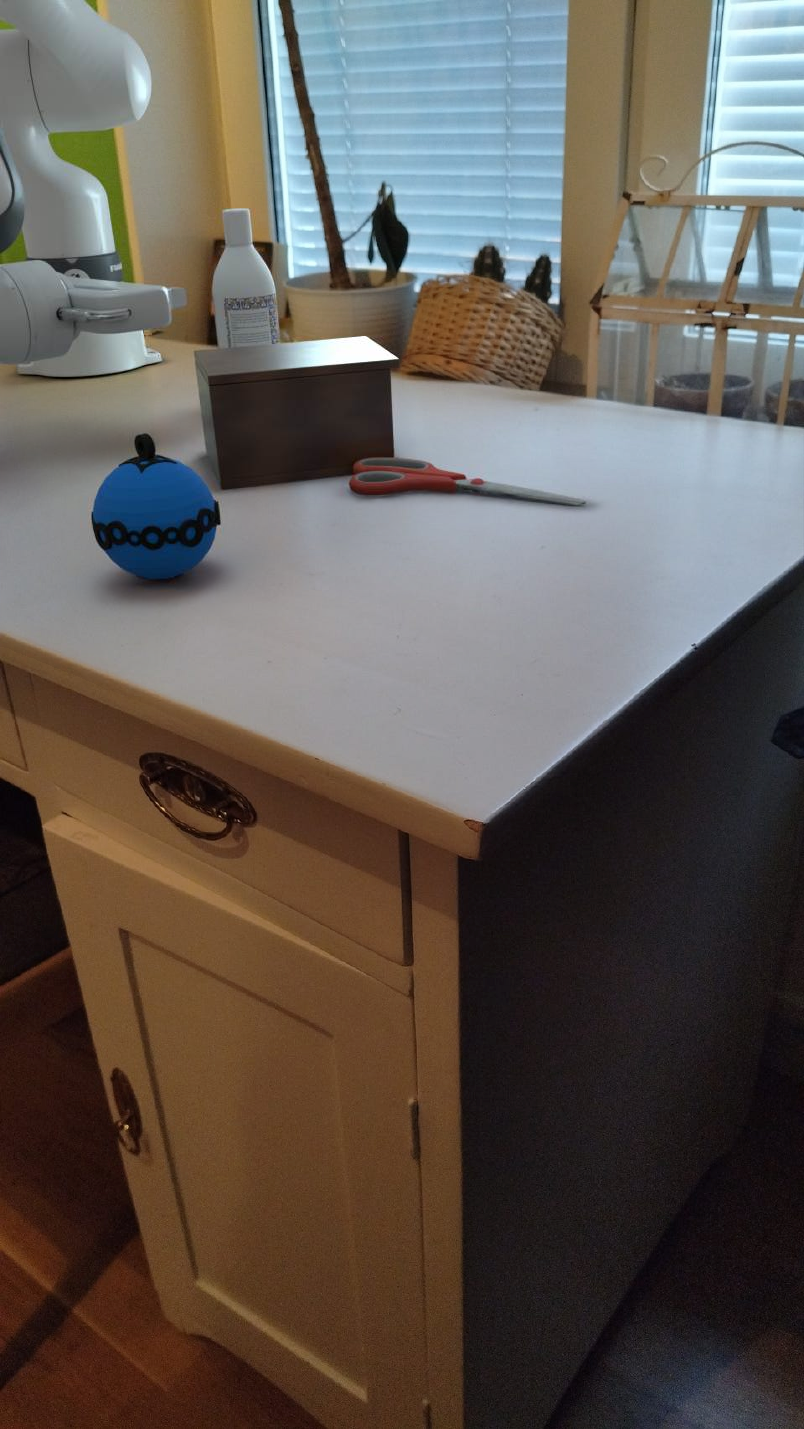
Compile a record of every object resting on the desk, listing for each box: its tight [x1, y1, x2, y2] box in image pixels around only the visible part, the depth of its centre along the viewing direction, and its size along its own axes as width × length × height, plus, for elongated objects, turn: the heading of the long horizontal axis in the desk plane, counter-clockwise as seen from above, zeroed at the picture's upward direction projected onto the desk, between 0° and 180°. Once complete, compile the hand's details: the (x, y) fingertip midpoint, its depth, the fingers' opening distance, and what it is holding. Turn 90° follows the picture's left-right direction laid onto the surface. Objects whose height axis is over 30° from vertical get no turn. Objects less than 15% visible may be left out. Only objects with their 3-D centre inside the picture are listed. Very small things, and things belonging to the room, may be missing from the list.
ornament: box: [90, 432, 222, 581], centre depth 75 cm, size 9×9×10 cm
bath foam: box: [211, 208, 281, 349], centre depth 122 cm, size 7×7×20 cm
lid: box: [193, 335, 400, 385], centre depth 98 cm, size 16×13×1 cm
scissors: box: [348, 457, 587, 506], centre depth 93 cm, size 8×21×2 cm, turn 74°
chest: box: [194, 360, 395, 491], centre depth 100 cm, size 16×13×9 cm
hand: (155, 293), depth 113 cm, fingers open, 8 cm apart
